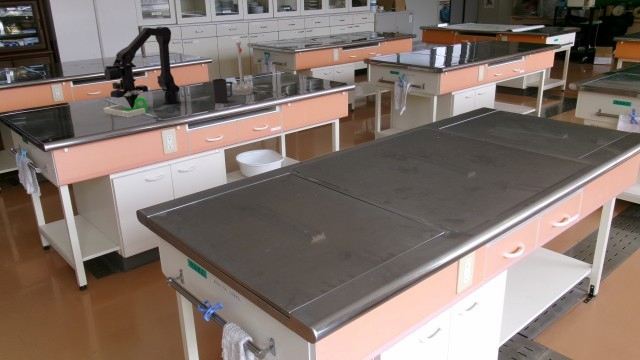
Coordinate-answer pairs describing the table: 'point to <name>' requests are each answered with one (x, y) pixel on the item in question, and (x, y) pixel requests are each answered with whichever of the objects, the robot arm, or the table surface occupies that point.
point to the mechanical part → (138, 105)
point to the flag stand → (241, 88)
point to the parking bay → (117, 111)
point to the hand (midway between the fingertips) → (132, 107)
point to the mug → (221, 90)
